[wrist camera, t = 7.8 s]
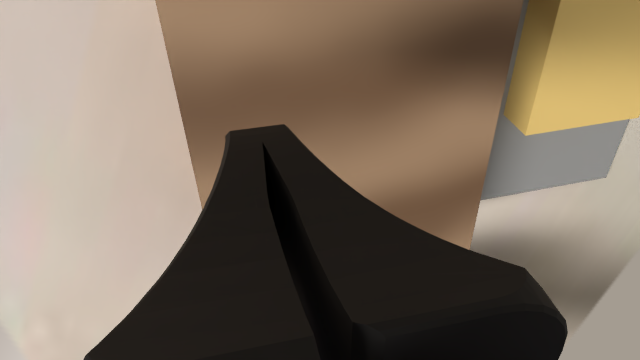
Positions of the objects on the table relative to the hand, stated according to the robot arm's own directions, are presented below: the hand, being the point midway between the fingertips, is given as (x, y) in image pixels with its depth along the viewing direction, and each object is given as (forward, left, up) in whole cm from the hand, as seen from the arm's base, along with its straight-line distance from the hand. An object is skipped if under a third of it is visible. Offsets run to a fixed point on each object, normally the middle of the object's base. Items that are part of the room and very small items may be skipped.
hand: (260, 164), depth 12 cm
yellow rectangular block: (-2, -16, -8) cm, 18 cm away
